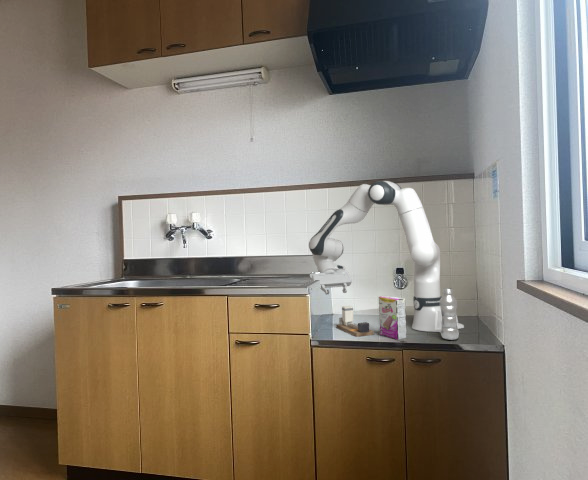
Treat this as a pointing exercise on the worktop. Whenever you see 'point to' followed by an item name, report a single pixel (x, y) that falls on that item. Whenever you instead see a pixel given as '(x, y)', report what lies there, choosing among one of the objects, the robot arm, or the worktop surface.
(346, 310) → the grey-banded white pillar
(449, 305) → the plastic bottle
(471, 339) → the worktop surface
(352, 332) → the rail board
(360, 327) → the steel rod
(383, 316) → the candy bar box
